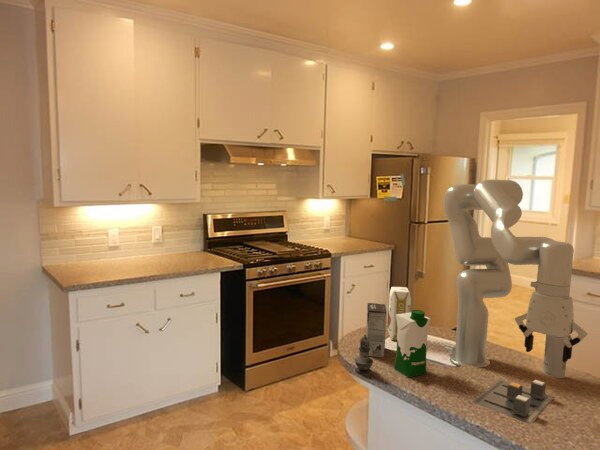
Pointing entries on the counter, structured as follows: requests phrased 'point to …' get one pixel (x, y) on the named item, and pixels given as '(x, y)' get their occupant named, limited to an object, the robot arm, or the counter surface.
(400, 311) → the juice carton
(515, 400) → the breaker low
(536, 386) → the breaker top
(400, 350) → the milk carton
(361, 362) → the grey ornate incense burner
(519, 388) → the block
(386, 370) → the counter surface
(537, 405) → the panel
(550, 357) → the energy drink can
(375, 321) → the coffee box
